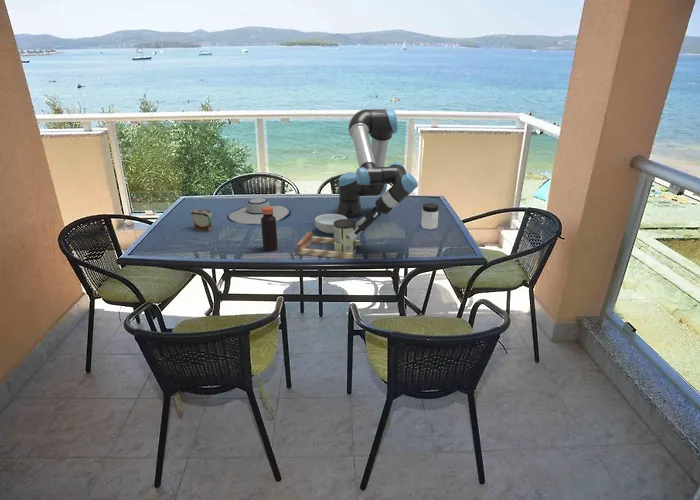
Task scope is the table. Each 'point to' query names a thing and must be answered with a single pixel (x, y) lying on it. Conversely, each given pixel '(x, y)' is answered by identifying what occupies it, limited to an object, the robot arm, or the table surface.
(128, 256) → the table surface
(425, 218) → the jar
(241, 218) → the sun hat
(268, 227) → the bottle
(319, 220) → the cereal bowl
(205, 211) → the food container
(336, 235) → the coffee can
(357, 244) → the guide
